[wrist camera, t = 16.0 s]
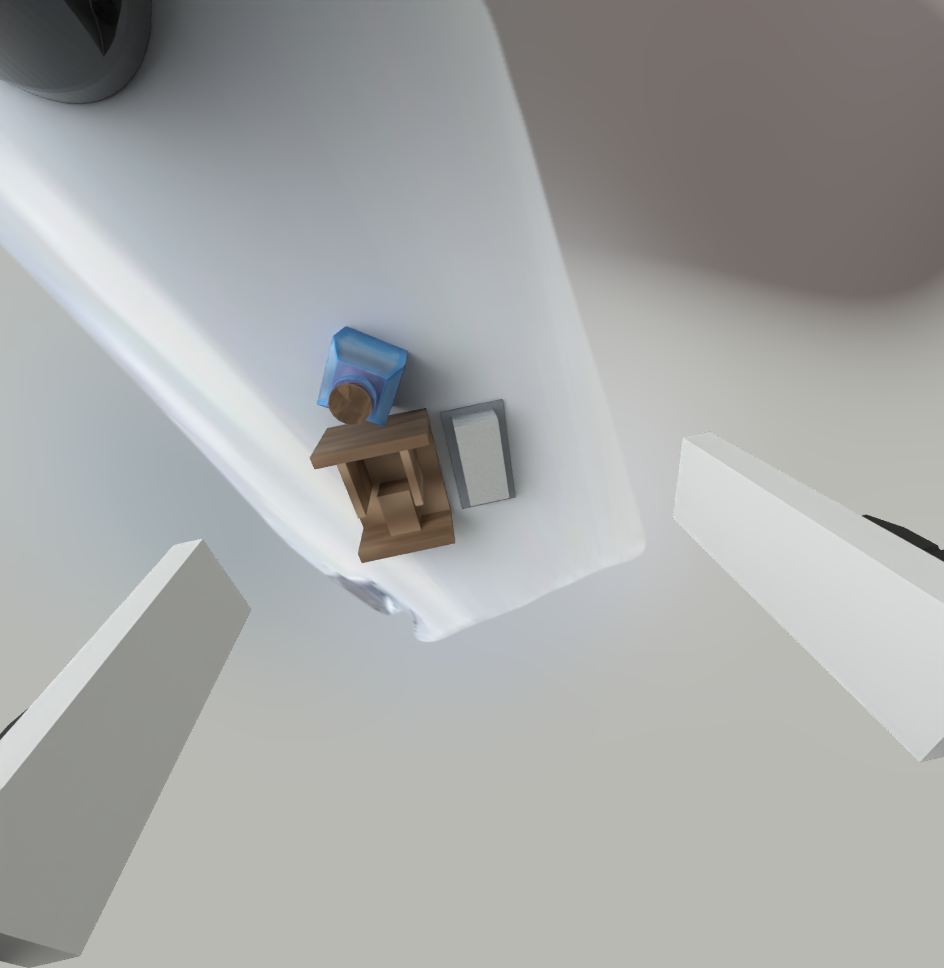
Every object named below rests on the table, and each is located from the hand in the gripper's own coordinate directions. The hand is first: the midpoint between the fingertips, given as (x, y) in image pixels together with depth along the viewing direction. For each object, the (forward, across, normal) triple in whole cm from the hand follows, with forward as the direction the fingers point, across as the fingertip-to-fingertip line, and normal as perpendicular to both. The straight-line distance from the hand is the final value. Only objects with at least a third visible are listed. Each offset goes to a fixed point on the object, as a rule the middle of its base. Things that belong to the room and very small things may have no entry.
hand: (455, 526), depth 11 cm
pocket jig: (+32, -8, -14) cm, 36 cm away
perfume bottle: (+32, -7, -1) cm, 33 cm away
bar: (+31, +3, -13) cm, 34 cm away
